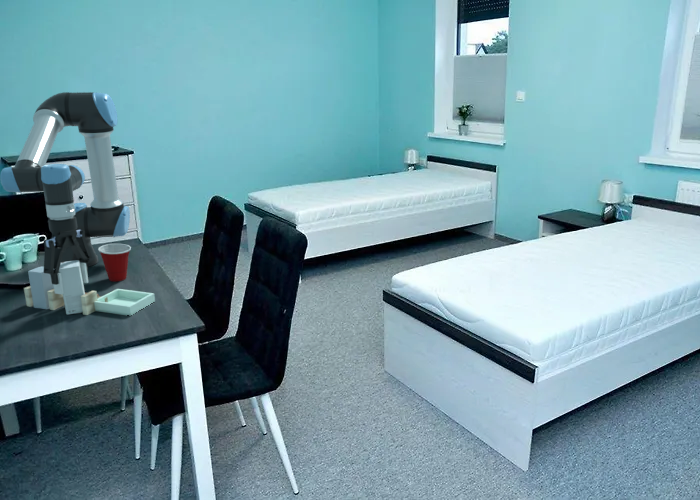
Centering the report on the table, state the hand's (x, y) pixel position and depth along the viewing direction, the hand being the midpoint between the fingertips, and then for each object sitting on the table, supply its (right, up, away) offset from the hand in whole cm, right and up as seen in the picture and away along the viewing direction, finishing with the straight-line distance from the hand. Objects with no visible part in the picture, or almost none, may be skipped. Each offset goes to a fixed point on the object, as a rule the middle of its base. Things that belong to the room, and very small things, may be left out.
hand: (72, 287), depth 171 cm
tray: (+14, -6, +5) cm, 16 cm away
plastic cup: (+2, +1, +29) cm, 29 cm away
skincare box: (0, -7, +2) cm, 7 cm away
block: (-10, -6, +5) cm, 13 cm away
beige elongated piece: (-4, -6, +5) cm, 9 cm away
